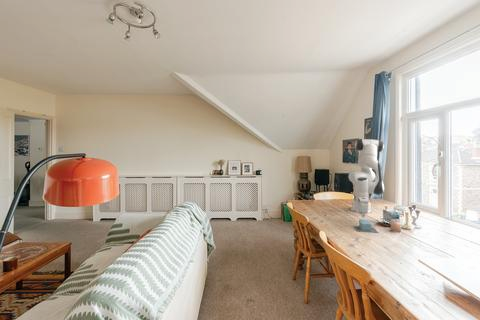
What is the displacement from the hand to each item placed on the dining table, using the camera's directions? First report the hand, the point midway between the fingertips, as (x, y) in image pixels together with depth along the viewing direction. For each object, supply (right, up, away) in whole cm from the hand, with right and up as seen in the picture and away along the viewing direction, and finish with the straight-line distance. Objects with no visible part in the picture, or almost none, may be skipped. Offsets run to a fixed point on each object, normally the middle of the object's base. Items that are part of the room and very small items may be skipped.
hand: (361, 215), depth 171 cm
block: (-2, -5, -5) cm, 7 cm away
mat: (-4, -7, -11) cm, 14 cm away
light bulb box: (+23, -7, 0) cm, 24 cm away
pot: (+16, -7, -15) cm, 23 cm away
